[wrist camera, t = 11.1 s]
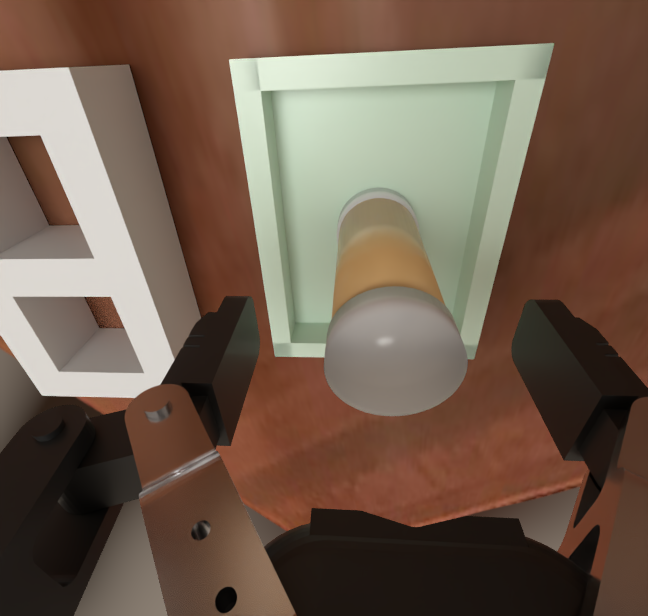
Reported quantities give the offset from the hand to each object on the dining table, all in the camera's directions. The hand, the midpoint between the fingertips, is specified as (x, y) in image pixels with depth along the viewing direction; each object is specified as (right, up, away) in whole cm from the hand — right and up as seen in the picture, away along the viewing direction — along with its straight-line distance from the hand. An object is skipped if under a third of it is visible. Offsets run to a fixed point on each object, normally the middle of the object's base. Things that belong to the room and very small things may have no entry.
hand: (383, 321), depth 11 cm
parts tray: (+1, +5, +7) cm, 9 cm away
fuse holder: (-14, +4, +9) cm, 17 cm away
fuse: (+1, +4, +7) cm, 8 cm away
